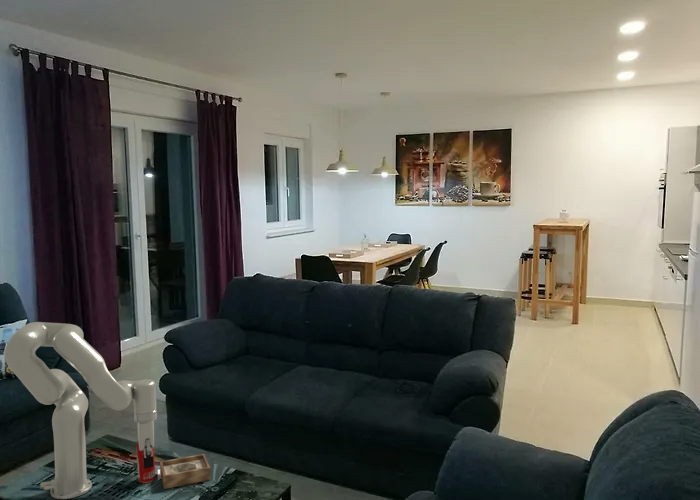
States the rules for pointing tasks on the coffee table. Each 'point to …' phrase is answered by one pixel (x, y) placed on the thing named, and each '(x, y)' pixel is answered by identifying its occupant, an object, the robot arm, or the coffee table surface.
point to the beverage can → (143, 474)
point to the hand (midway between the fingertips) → (147, 461)
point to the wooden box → (184, 471)
